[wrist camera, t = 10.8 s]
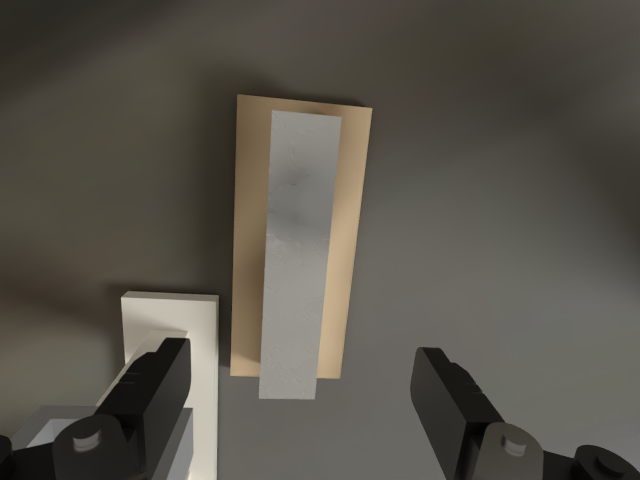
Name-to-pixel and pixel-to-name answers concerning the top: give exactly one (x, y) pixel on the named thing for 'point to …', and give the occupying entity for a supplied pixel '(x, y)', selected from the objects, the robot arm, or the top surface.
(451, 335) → the top surface
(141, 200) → the top surface
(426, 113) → the top surface
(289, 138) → the rail
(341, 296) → the mat
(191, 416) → the rail stand
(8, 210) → the top surface
